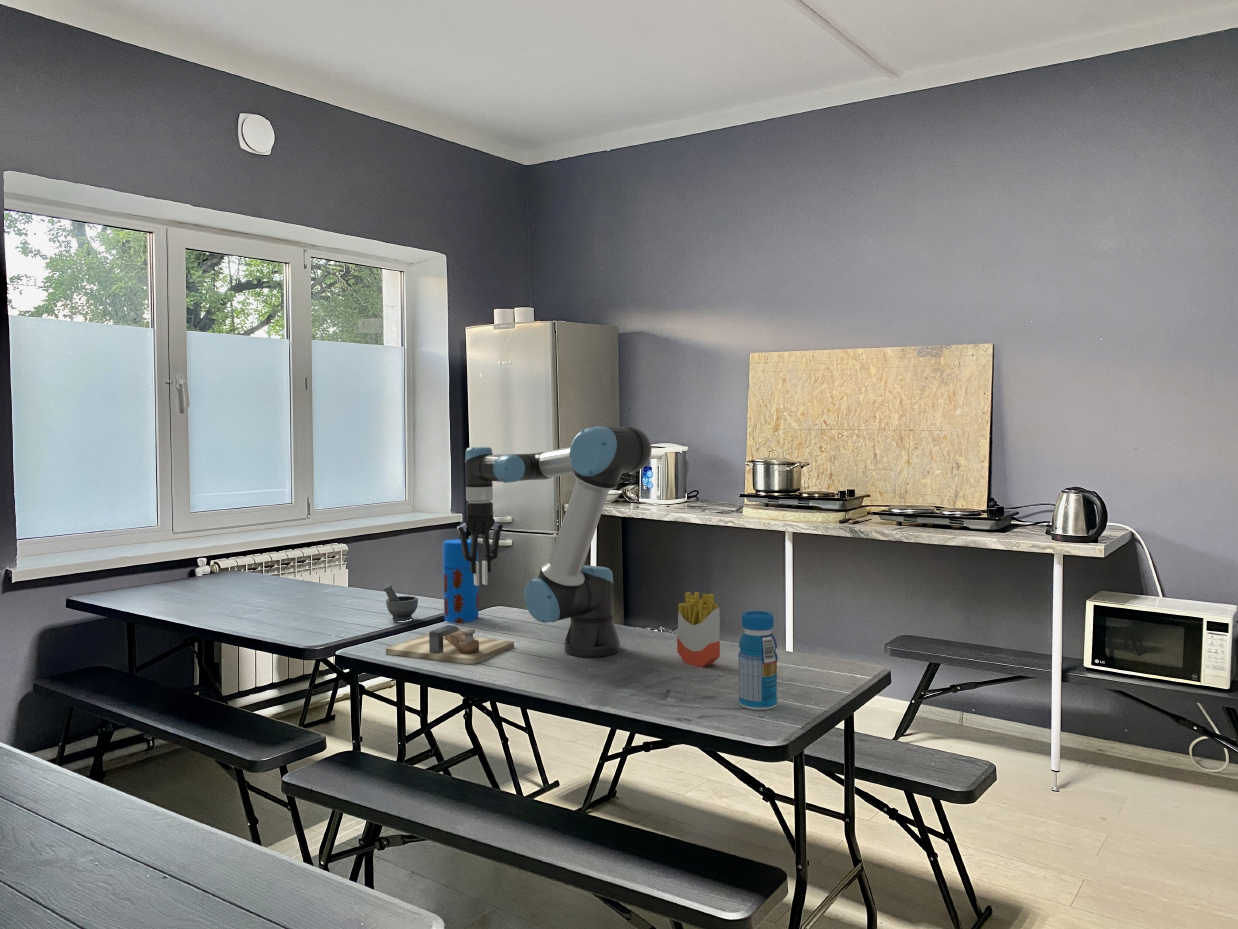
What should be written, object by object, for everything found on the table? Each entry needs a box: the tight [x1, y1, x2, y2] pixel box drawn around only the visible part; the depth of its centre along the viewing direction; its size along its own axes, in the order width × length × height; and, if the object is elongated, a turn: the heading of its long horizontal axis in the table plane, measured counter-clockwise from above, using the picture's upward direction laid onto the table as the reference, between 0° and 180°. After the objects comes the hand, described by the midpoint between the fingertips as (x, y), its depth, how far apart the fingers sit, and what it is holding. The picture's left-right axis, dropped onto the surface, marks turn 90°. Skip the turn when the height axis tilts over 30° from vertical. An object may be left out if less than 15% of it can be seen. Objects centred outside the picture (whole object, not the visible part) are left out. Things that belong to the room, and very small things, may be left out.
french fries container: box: [676, 591, 721, 668], centre depth 224 cm, size 5×11×18 cm, turn 43°
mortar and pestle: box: [382, 584, 419, 622], centre depth 279 cm, size 11×9×12 cm
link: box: [445, 627, 479, 654], centre depth 240 cm, size 22×5×6 cm, turn 26°
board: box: [385, 633, 515, 665], centre depth 240 cm, size 28×20×2 cm
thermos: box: [442, 538, 480, 624], centre depth 280 cm, size 11×11×25 cm
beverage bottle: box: [737, 610, 779, 711], centre depth 190 cm, size 8×8×20 cm
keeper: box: [429, 624, 458, 653], centre depth 236 cm, size 3×9×6 cm, turn 156°
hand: (480, 584), depth 249 cm, fingers open, 2 cm apart
